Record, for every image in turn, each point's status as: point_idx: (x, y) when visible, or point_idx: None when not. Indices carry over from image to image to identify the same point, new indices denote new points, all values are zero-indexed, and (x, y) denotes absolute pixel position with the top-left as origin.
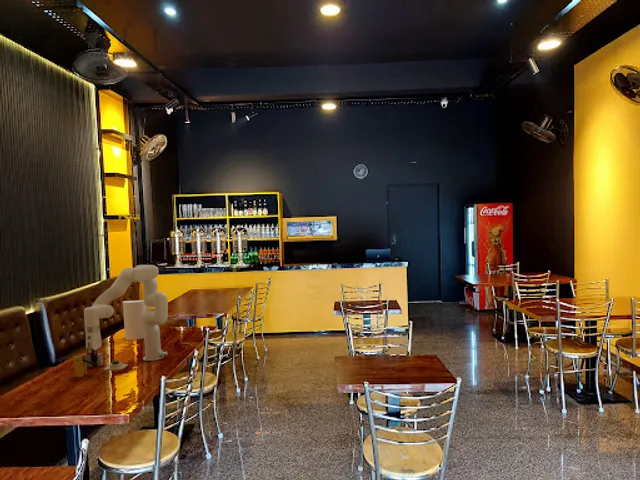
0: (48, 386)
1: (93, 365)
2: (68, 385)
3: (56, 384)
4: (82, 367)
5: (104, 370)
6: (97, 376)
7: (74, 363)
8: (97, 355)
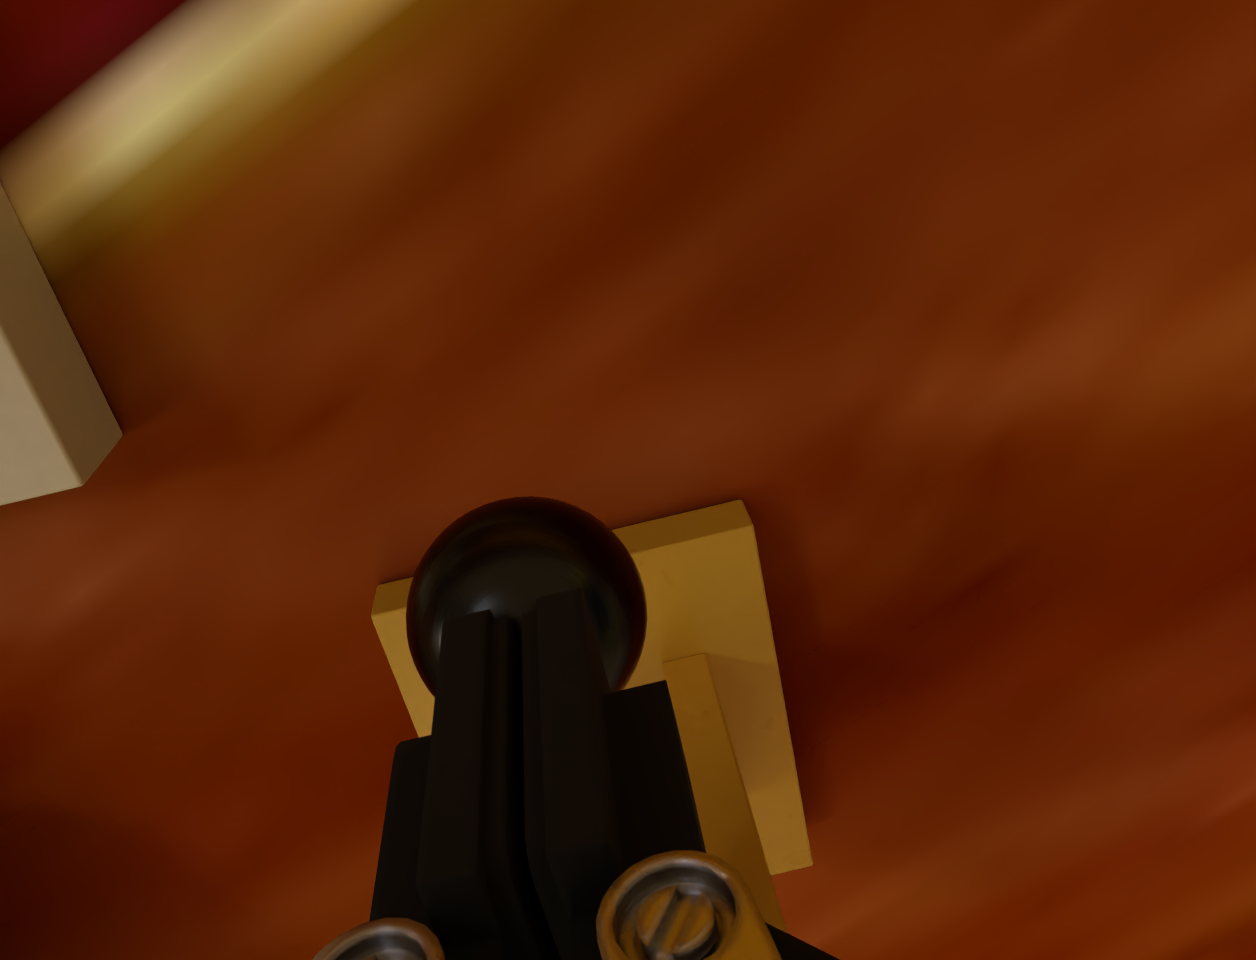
0: (1114, 927)
1: (643, 586)
2: (1124, 629)
3: (1015, 882)
4: (738, 843)
5: (84, 436)
6: (445, 404)
7: None
8: (432, 801)
